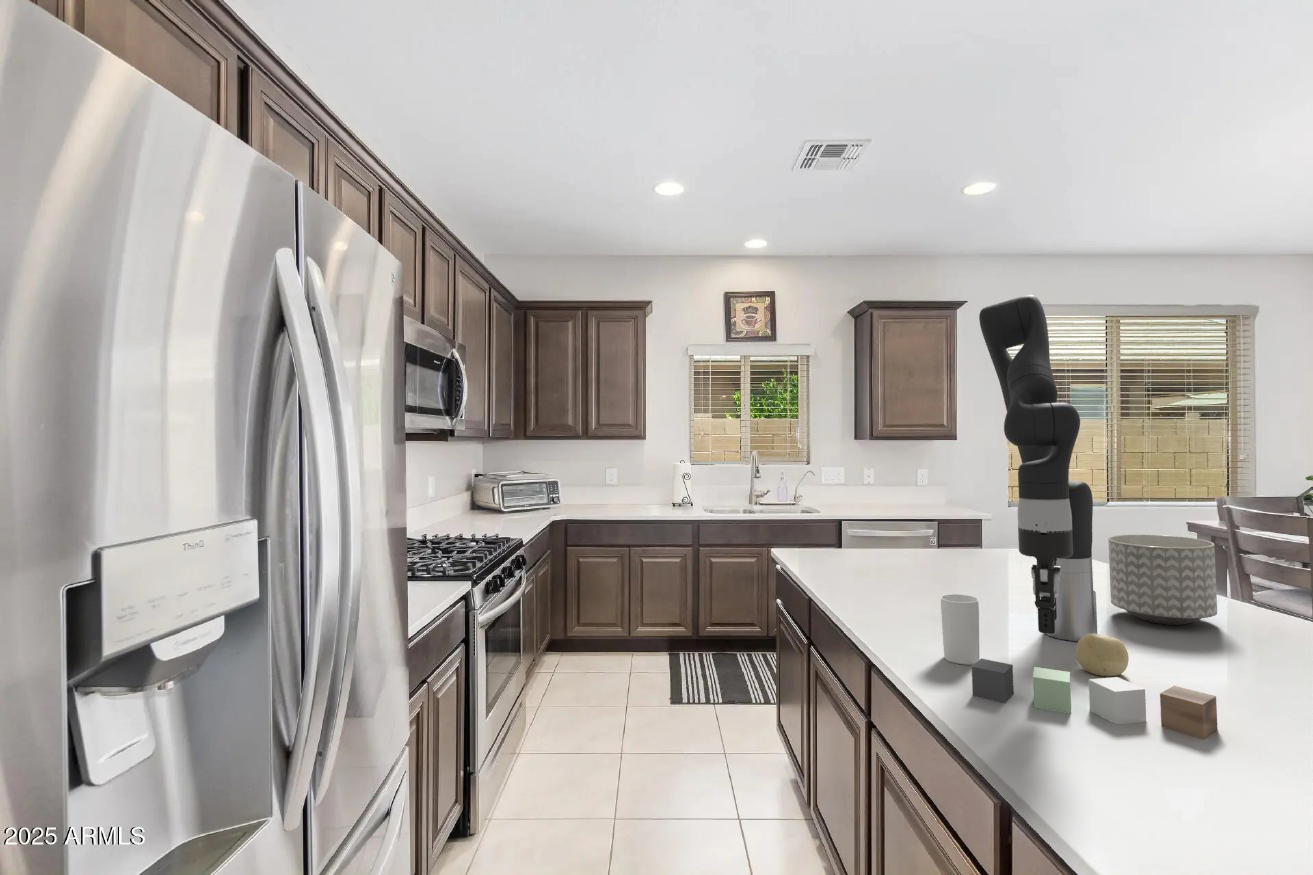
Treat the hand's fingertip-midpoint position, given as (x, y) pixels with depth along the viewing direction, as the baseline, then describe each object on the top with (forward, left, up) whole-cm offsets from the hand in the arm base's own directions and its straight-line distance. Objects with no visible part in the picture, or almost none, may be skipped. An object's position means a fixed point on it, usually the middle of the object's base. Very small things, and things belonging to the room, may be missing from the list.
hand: (1047, 625), depth 103 cm
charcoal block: (+5, -7, -13) cm, 15 cm away
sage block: (0, 0, -13) cm, 13 cm away
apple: (-21, -5, -13) cm, 25 cm away
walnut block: (-10, +14, -13) cm, 22 cm away
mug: (-6, -22, -13) cm, 26 cm away
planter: (-64, -20, -13) cm, 68 cm away
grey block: (-5, +7, -13) cm, 16 cm away
